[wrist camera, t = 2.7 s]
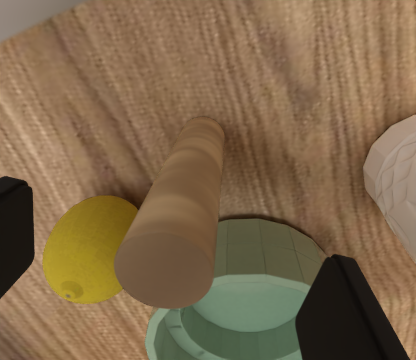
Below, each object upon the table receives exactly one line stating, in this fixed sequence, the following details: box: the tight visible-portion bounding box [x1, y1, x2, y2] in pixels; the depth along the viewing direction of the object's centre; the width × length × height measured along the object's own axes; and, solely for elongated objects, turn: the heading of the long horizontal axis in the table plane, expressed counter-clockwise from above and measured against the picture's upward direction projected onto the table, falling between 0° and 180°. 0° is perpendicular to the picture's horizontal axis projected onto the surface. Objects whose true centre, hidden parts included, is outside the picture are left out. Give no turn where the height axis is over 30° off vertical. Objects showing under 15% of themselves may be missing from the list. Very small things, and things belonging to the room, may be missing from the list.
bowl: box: [145, 218, 327, 360], centre depth 21 cm, size 13×13×6 cm
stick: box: [114, 117, 225, 309], centre depth 14 cm, size 3×3×12 cm
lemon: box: [43, 195, 139, 304], centre depth 18 cm, size 6×6×8 cm
